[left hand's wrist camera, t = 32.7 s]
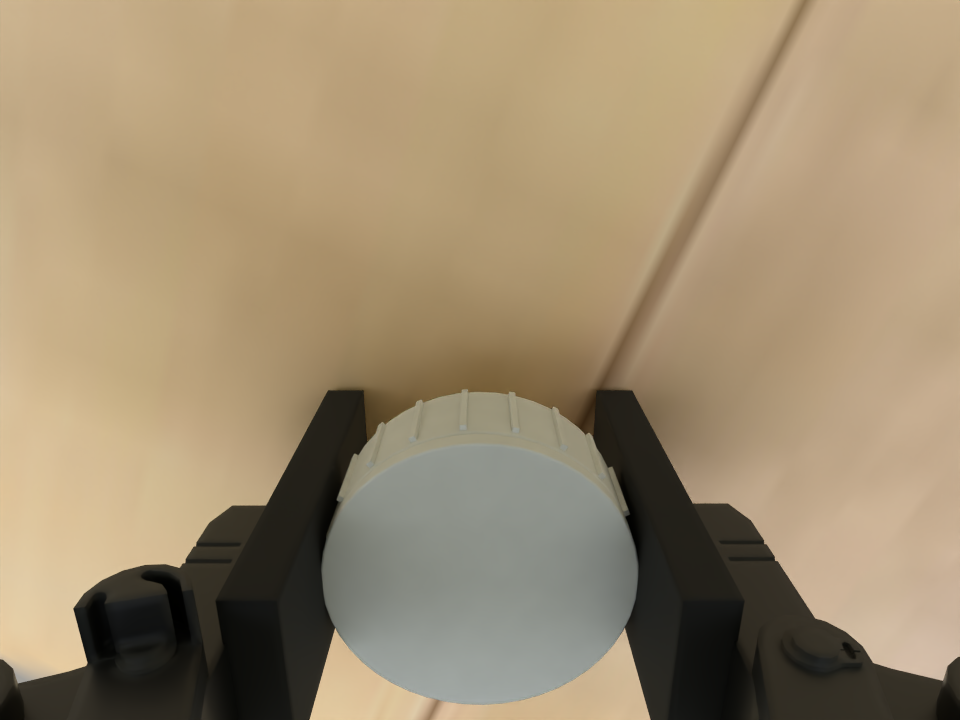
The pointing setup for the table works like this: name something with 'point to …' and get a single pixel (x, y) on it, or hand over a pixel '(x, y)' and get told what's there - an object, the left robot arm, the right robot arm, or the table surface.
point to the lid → (479, 551)
